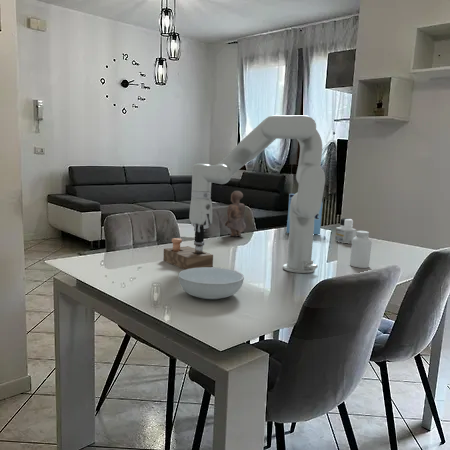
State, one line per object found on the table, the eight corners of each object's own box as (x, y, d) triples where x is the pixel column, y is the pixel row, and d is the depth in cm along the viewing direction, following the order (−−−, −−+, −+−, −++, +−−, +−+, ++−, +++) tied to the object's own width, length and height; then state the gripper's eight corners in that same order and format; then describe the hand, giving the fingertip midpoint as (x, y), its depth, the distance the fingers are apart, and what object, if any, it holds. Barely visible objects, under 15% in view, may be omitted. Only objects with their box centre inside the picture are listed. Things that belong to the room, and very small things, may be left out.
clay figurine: (236, 233, 262) (238, 189, 259) (250, 236, 256) (252, 191, 252) (220, 235, 253) (223, 190, 249) (234, 238, 246) (237, 191, 242)
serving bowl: (240, 287, 159) (241, 267, 158) (245, 307, 138) (246, 284, 137) (179, 284, 158) (180, 265, 157) (175, 304, 137) (175, 282, 136)
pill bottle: (356, 268, 193) (359, 233, 191) (346, 264, 201) (349, 229, 199) (372, 268, 195) (376, 233, 193) (362, 263, 203) (365, 229, 201)
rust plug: (183, 252, 188) (183, 239, 187) (174, 253, 185) (175, 240, 184) (178, 250, 191) (178, 238, 190) (169, 251, 188) (169, 238, 187)
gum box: (286, 233, 272) (289, 194, 269) (286, 231, 277) (289, 193, 274) (320, 235, 271) (323, 196, 267) (319, 233, 276) (322, 195, 272)
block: (212, 267, 184) (213, 254, 183) (187, 270, 177) (187, 257, 176) (187, 257, 198) (188, 246, 197) (163, 260, 191) (163, 248, 190)
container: (334, 241, 255) (336, 217, 253) (345, 240, 258) (348, 217, 256) (343, 243, 248) (346, 219, 246) (355, 243, 251) (357, 219, 249)
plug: (205, 255, 185) (206, 242, 184) (197, 256, 182) (197, 243, 181) (200, 253, 188) (200, 240, 187) (191, 253, 185) (192, 241, 185)
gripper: (220, 197, 178) (217, 244, 181) (198, 193, 189) (196, 237, 192) (204, 197, 173) (201, 245, 176) (182, 193, 185) (180, 238, 188)
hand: (199, 241), depth 184 cm, fingers closed
